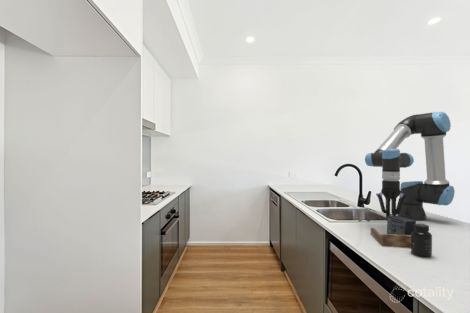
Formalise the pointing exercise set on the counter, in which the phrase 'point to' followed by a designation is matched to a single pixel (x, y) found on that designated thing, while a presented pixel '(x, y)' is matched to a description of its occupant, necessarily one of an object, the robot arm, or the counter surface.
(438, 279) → the counter surface
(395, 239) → the channel
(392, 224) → the small box
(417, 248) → the supplement bottle
